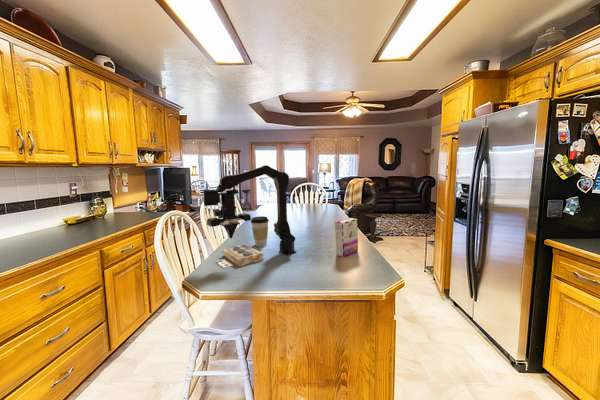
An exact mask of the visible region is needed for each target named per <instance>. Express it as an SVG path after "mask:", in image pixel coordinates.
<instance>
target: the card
mask: <svg viewBox="0 0 600 400" xmlns="http://www.w3.org/2000/svg"><path fill="white" fill-rule="evenodd" d="M223 259H224V258H223ZM223 259H219V260H220V261H219V260H218V261H219V263H218V264H219V265H218V264H217V265H218V266H220V267H221V266H222V267H221V268H222V269H225V268H226V269H227V268H229V267H230V268H231V267H233V266H234V264H232V263H231V262H230V261H228V260H226V259H224V260H223Z"/></svg>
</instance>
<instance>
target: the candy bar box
mask: <svg viewBox="0 0 600 400" xmlns="http://www.w3.org/2000/svg"><path fill="white" fill-rule="evenodd" d="M334 228H335V255H336V256H338V257H341V258H346V257H348V256H351V255H353V254H357V253H358V252H359V246H358V244H359V242H358V241H359V237H358V233H359V232H358V218H354V217H348V218H344V219H342V220H337V221H334Z"/></svg>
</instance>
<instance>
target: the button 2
mask: <svg viewBox="0 0 600 400" xmlns="http://www.w3.org/2000/svg"><path fill="white" fill-rule="evenodd" d="M244 255H245V256H250V255H251V251H250V250H246V251H244Z"/></svg>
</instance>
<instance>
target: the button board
mask: <svg viewBox="0 0 600 400" xmlns="http://www.w3.org/2000/svg"><path fill="white" fill-rule="evenodd" d="M240 248H245V249H246V250H250V251H251V255H250V256H245V255H244V253H241V254H240V253H239V250H237V251H235V250H234V247H231V248H226V249H222V256H223V255H224V256H225V257H224V256H223V257H224V258H226V257H227V258H228V259H227V258H226V259H227V260H229V261H231V262H232V263H233V264H236V266H238V267H241V266H245V265H249V264H253V263H256V262H259V261H263V260H264V253H263V252H261V251H259V250H257V249H256V248H253V247H250V246H249V245H246V244H244V245H240Z"/></svg>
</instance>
